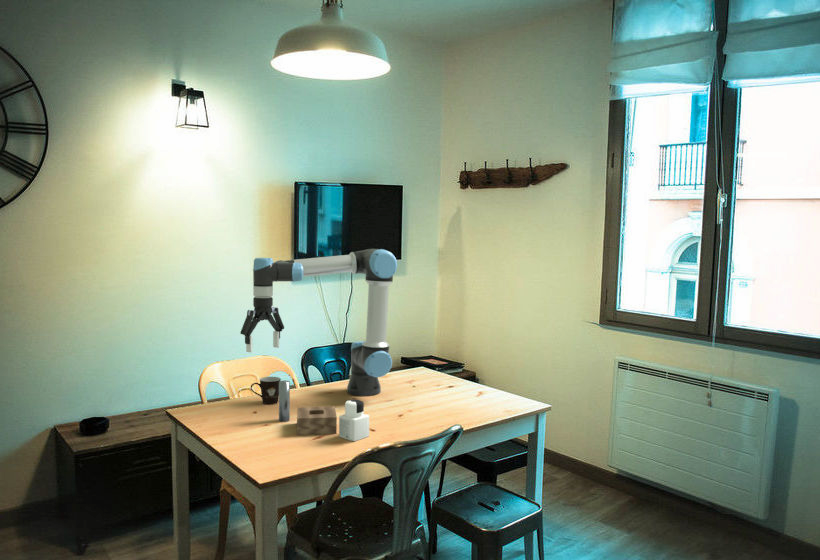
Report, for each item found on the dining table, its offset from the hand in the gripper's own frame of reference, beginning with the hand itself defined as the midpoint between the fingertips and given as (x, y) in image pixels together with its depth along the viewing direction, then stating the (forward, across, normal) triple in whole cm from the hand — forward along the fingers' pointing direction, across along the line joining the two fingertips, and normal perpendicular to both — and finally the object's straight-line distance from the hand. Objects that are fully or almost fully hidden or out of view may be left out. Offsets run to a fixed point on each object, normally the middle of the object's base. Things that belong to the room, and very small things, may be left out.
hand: (262, 349), depth 254 cm
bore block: (+24, +2, +33) cm, 41 cm away
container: (+25, +1, +50) cm, 56 cm away
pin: (+25, +4, +17) cm, 30 cm away
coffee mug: (+25, -8, -8) cm, 27 cm away
